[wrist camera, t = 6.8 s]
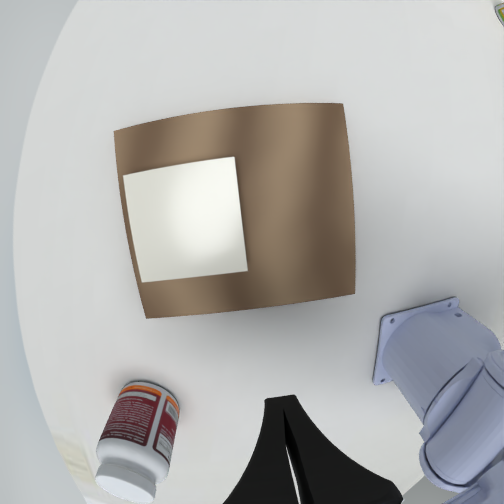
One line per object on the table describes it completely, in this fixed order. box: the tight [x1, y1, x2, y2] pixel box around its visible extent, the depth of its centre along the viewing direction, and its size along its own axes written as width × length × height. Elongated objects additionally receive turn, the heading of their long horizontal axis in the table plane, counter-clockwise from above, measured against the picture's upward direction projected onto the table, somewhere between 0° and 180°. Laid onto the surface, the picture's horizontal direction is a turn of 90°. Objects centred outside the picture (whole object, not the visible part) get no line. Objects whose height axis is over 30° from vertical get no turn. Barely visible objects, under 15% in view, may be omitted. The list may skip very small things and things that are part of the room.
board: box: [114, 103, 355, 319], centre depth 19 cm, size 16×14×1 cm
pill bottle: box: [95, 382, 179, 504], centre depth 18 cm, size 6×6×11 cm
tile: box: [123, 157, 248, 282], centre depth 17 cm, size 2×7×7 cm
